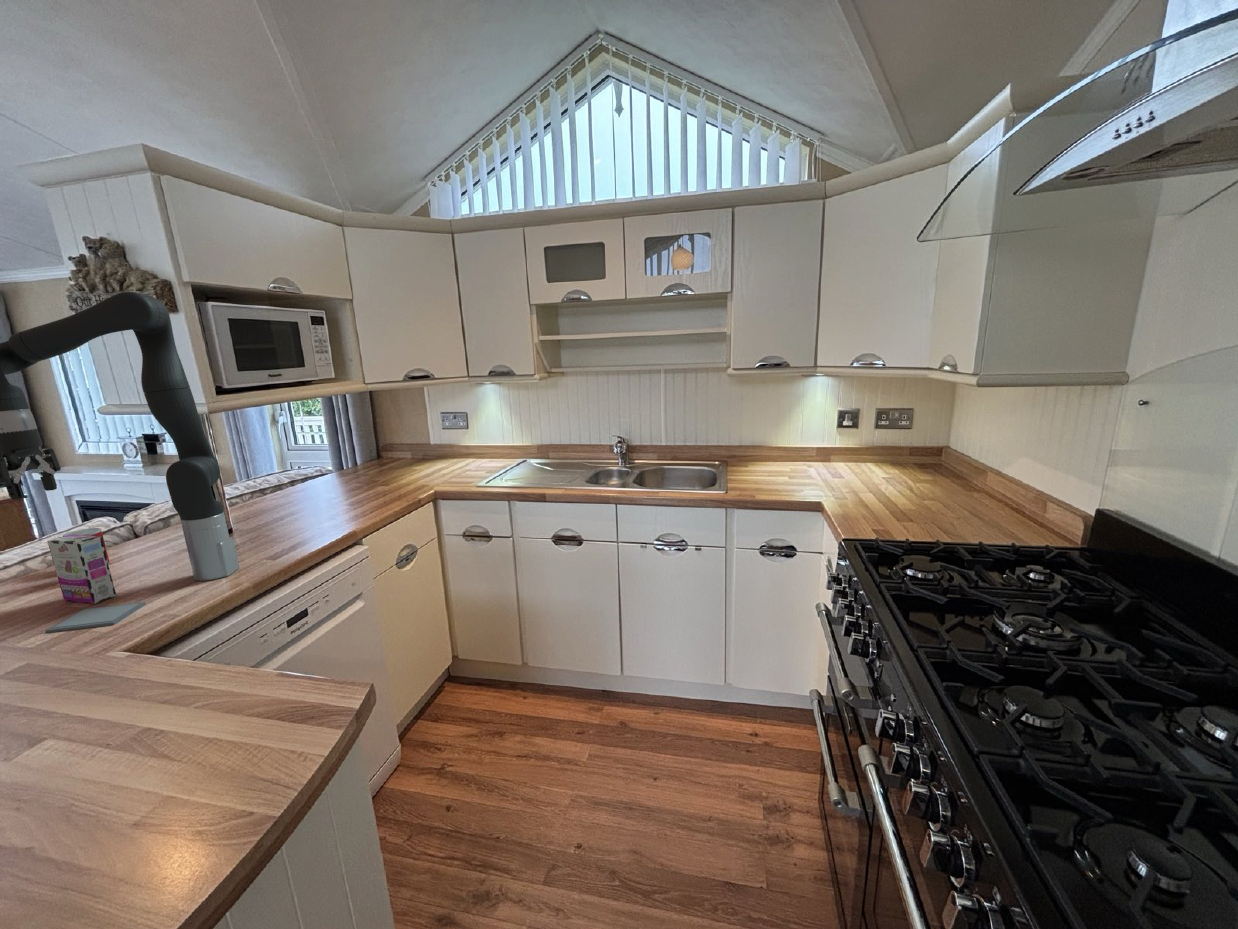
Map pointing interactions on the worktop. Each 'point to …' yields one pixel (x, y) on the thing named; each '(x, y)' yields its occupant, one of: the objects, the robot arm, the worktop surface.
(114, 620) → the grey flat slab
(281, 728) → the worktop surface
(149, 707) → the worktop surface
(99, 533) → the canned food
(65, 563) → the candy bar box
